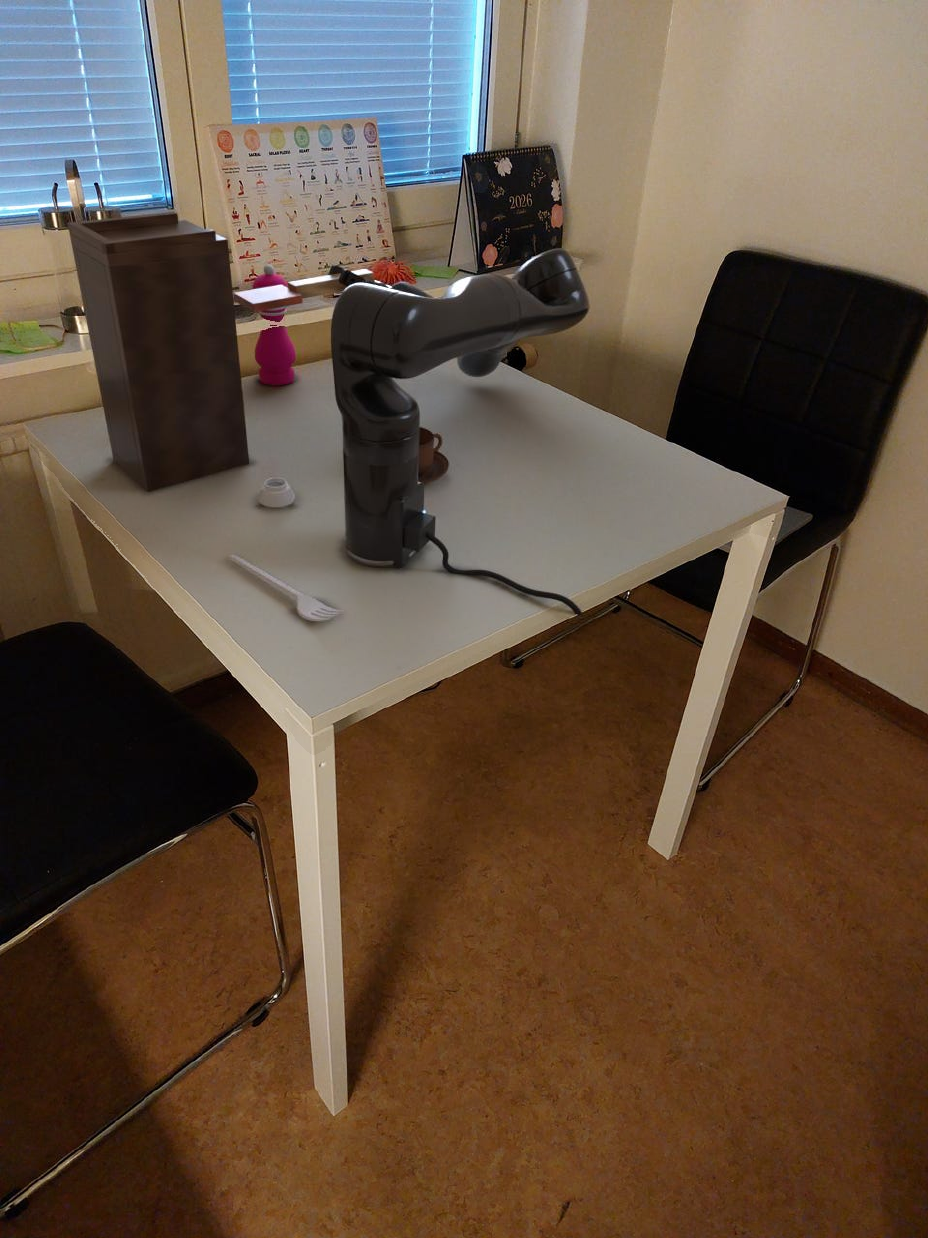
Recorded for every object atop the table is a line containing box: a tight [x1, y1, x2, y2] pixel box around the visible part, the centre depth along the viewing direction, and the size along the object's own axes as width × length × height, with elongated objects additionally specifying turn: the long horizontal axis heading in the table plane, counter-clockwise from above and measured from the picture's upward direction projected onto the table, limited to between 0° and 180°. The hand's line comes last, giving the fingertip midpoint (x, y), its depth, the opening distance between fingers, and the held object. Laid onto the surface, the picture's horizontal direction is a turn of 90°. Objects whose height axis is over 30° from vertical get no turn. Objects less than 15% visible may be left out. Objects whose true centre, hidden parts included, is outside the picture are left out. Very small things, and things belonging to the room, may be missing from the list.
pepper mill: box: [252, 264, 297, 386], centre depth 156 cm, size 7×7×20 cm
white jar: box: [257, 477, 296, 508], centre depth 125 cm, size 5×3×5 cm
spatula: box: [233, 268, 375, 313], centre depth 135 cm, size 22×6×2 cm, turn 129°
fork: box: [229, 554, 346, 622], centre depth 107 cm, size 3×20×2 cm, turn 48°
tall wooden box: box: [67, 211, 250, 493], centre depth 124 cm, size 16×12×33 cm
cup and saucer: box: [418, 426, 450, 485], centre depth 133 cm, size 12×12×6 cm
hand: (336, 273), depth 136 cm, fingers closed on spatula, 2 cm apart
